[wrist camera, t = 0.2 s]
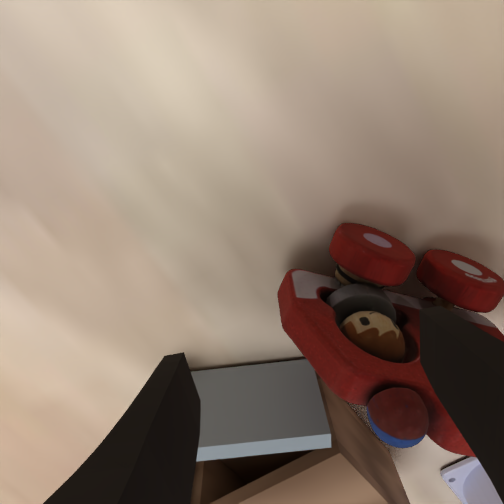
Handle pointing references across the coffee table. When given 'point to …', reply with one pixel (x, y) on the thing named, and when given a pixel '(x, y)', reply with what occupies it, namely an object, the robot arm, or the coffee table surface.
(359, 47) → the coffee table surface
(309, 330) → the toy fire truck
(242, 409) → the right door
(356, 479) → the cabinet
